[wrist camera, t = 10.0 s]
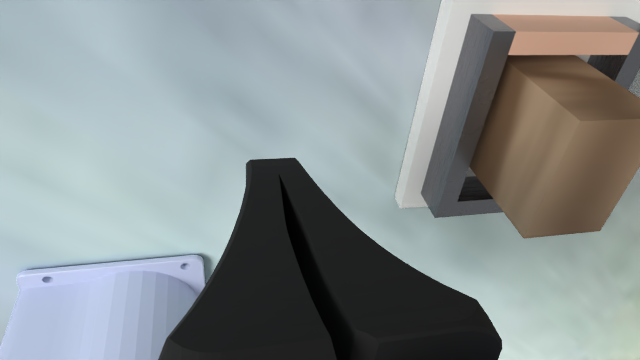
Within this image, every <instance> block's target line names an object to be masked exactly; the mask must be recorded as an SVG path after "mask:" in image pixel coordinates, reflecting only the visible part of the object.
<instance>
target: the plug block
mask: <svg viewBox="0 0 640 360" xmlns="http://www.w3.org/2000/svg"><path fill="white" fill-rule="evenodd" d="M639 166H640V98H639V97H637V96H636V95H634V94H633V93H631V92H630V91H628V90H627V89H625V88H624V87H622V86H621V85H619V84H618V83H616V82H615V81H613V80H612V79H610V78H609V77H607V76H606V75H604V74H603V73H601V72H600V71H598V70H597V69H595V68H594V67H592V66H591V65H589V64H588V63H586V62H585V61H583V60H582V59H580V58H579V57H577V56H576V55H508V56H507V59H506V62H505V65H504V68H503V71H502V74H501V77H500V79H499V82H498V85H497V88H496V91H495V94H494V97H493V100H492V103H491V105H490V108H489V111H488V114H487V117H486V120H485V123H484V126H483V129H482V132H481V134H480V137H479V140H478V143H477V146H476V149H475V152H474V155H473V158H472V160H471V163H470V166H469V167H470V169H471V170H472V171H473V172H474V174H475V175H476V176H477V178H478V179H479V180H480V182H481V183H482V184H483V186H484V187H485V188H486V190H487V191H488V192H489V194H490V195H491V196H492V198H493V199H494V200H495V201H496V203H497V204H498V205H499V207H500V208H501V209H502V211H503V212H504V213H505V215H506V216H507V217H508V219H509V220H510V221H511V223H512V224H513V225H514V226H515V228H516V229H517V230H518V232H519V233H520V234H521V236H522V237H523V238H533V237H543V236H554V235H564V234H574V233H584V232H594V231H600V230H601V228H602V227H603V225H604V224H605V222H606V220H607V219H608V217H609V215H610V214H611V212H612V210H613V209H614V207H615V206H616V204H617V202H618V201H619V199H620V197H621V196H622V194H623V193H624V191H625V189H626V188H627V186H628V184H629V183H630V181H631V180H632V178H633V176H634V175H635V173H636V171H637V170H638V168H639Z"/></svg>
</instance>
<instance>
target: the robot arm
mask: <svg viewBox="0 0 640 360" xmlns="http://www.w3.org/2000/svg"><path fill="white" fill-rule="evenodd" d="M184 263H187V264H186V265H185V264H184ZM46 276H48V277H46ZM16 283H17V285H18V287H19V289H20V291H19V293H18V296H17V299H16V302H15V305H14V308H13V311H12V314H11V317H10V320H9V323H8V326H7V329H6V332H5V335H4V338H3V341H2V343H1V346H0V360H498V358H499V355H500V352H501V350H502V340H501V338H500V336H499V334H498V333H497V331H496V329H495V327H494V326H493V324H492V322H491V320H490V319H489V317H488V315H487V314H486V313H485V311H484V310H483V308H482V307H481V305H480V304H479V302H478V301H477V300H476V299H474V298H472V297H469V296H467V295H465V294H463V293H461V292H459V291H457V290H454V289H452V288H450V287H448V286H446V285H444V284H442V283H440V282H438V281H436V280H434V279H432V278H430V277H429V276H427V275H425V274H423V273H421V272H420V271H418V270H416V269H415V268H413V267H411V266H410V265H408V264H406V263H405V262H403V261H402V260H400V259H399V258H397V257H396V256H394V255H393V254H391V253H390V252H388V251H387V250H386V249H384V248H383V247H381V246H380V245H379V244H377V243H376V242H375V241H374V240H372V239H371V238H370V237H369V236H367V235H366V234H365V233H364V232H362V231H361V230H360V229H359V228H358V227H357V226H356V225H355V224H354V223H352V222H351V221H350V220H349V219H348V218H347V217H346V216H345V215H344V214H343V213H342V212H341V211H340V210H339V209H338V208H337V207H336V206H335V205H334V203H333V202H332V201H331V200H330V199H329V198H328V197H327V196H326V195H325V194H324V192H323V191H322V190H321V189H320V188H319V187H318V185H317V184H316V183H315V182H314V181H313V179H312V178H311V177H310V176H309V174H308V173H307V172H306V171H305V169H304V168H303V167H302V165H301V164H300V163H299V161H298V160H297V159H296V158H280V159H257V160H250V161H248V162H247V163H246V189H245V193H244V197H243V202H242V206H241V209H240V213H239V215H238V218H237V221H236V224H235V227H234V230H233V232H232V235H231V237H230V240H229V242H228V244H227V246H226V248H225V251H224V253H223V255H222V257H221V259H220V261H219V263H218V264H217V266H216V268H215V270H214V272H213V274H212V275H211V277H210V279H209V281H208V282H207V284H206V285H205V274H204V262H203V258H202V257H201V256H198V255H187V256H176V257H165V258H155V259H144V260H133V261H122V262H111V263H100V264H89V265H78V266H67V267H56V268H45V269H34V270H25V271H21V272H20V273H19V274H18V275H17V278H16Z"/></svg>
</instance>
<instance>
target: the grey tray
mask: <svg viewBox="0 0 640 360" xmlns="http://www.w3.org/2000/svg"><path fill="white" fill-rule="evenodd" d="M508 55H576V56H577V57H579V58H580V59H582V60H583V61H585V62H586V63H588V64H589V65H591V66H592V67H594V68H595V69H597V70H598V71H600V72H601V73H603V74H604V75H606V76H607V77H609V78H610V79H612V80H613V81H615V82H616V83H618V84H619V85H621V86H622V87H624V88H625V89H627V90H628V89H629V87H630V85H631V83H632V82H633V80H634V78H635V76H636V74H637V72H638V70H639V68H640V0H442V1H441V5H440V9H439V14H438V18H437V22H436V26H435V30H434V34H433V39H432V43H431V47H430V51H429V55H428V59H427V64H426V68H425V72H424V76H423V80H422V84H421V89H420V93H419V97H418V101H417V105H416V110H415V114H414V118H413V122H412V126H411V130H410V135H409V139H408V143H407V147H406V151H405V155H404V160H403V164H402V168H401V172H400V176H399V180H398V185H397V189H396V193H395V199H396V201H397V203H398V205H399V207H400V208H413V207H426V206H428V207H429V209H430V210H431V212H432V214H433V216H434V217H435V218H438V217H450V216H462V215H474V214H486V213H498V212H503V211H502V209H501V208H500V207H499V205H498V204H497V203H496V201H495V200H494V199H493V198H492V196H491V195H490V194H489V192H488V191H487V190H486V188H485V187H484V186H483V184H482V183H481V182H480V180H479V179H478V178H477V176H476V175H475V174H474V172H473V171H472V170H471V169H470V167H469V166H470V163H471V160H472V158H473V155H474V152H475V149H476V146H477V143H478V140H479V137H480V134H481V132H482V129H483V126H484V123H485V120H486V117H487V114H488V111H489V108H490V105H491V103H492V100H493V97H494V94H495V91H496V88H497V85H498V82H499V79H500V77H501V74H502V71H503V68H504V65H505V62H506V59H507V56H508Z"/></svg>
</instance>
